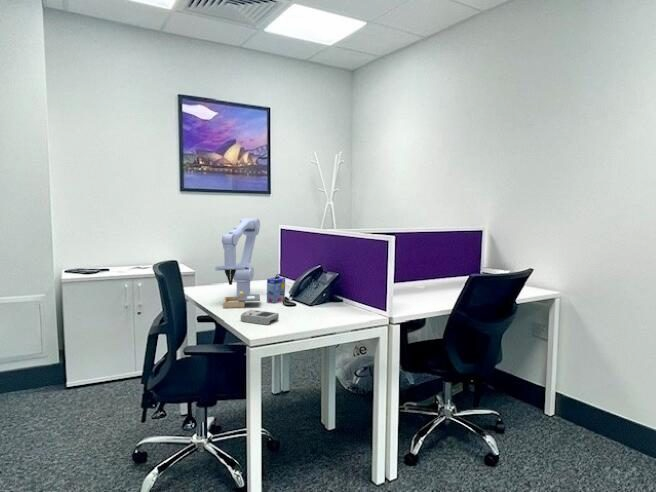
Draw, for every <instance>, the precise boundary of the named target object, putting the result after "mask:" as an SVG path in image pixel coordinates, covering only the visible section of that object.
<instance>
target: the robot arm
mask: <svg viewBox="0 0 656 492" xmlns="http://www.w3.org/2000/svg"><path fill="white" fill-rule="evenodd" d="M260 228H261V222H260V219H259V218H258V217H256V218H253V217H251V218H250V217H248V218H247V217H241V218H240V219H239V224H238V225H237V226H233V227H232V228H231V230H230V231H229V232H228V233H224V234H223V235H222V238H221V243H222V248H223V252H224V254H223V256H224V261H223V262H224V265H220V266H217V265H216V266H215V267H214V268H215V269H214V270H215V272H217V271H224V274H225V276H226V278H227V280H228V285H229V286H230V285H233V280H234V281H235V282H236V295H235V297H239V295H240V291H243V295H252V294H251V282H252V280H253V278H254V274H255V273H254V267H253V265H251V262H252V256H253V250H254V248H255V247H254V245H255V244H256V243H255V242H256V237H257V236H258V235H259V232H260ZM243 235H244V236H245V237H246V238H245V242H244V246H243V251H242V255H241V259H240V262H239V263H238V264H237V245H238V242H239V240H240V238H241V237H242V236H243Z"/></svg>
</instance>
